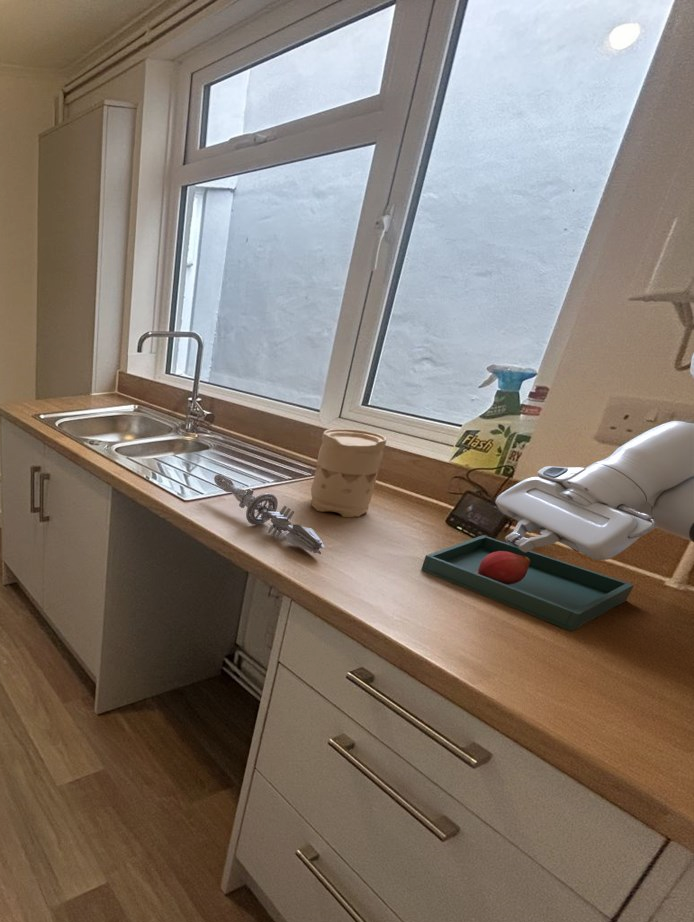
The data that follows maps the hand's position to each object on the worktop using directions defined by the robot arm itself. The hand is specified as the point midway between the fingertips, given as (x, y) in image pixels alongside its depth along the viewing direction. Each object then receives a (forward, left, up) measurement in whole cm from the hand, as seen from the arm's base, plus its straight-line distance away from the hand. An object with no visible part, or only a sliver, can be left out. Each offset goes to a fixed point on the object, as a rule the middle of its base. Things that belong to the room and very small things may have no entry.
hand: (513, 545), depth 91 cm
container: (+36, -8, -8) cm, 38 cm away
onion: (-3, 0, -1) cm, 3 cm away
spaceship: (+37, +18, -8) cm, 42 cm away
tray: (-2, -3, -8) cm, 8 cm away
